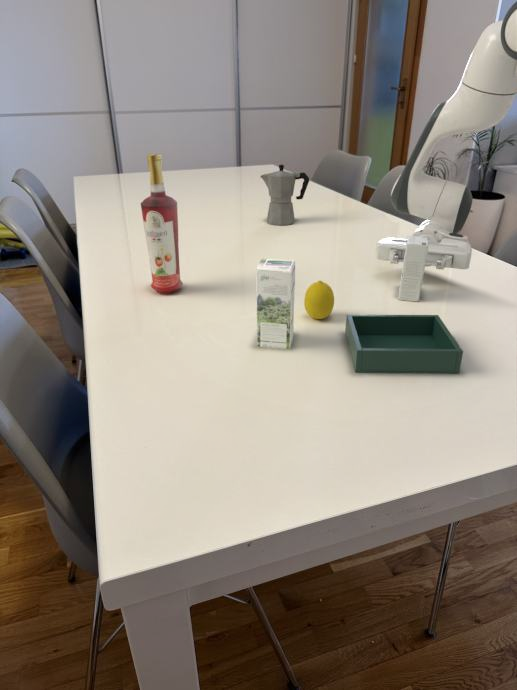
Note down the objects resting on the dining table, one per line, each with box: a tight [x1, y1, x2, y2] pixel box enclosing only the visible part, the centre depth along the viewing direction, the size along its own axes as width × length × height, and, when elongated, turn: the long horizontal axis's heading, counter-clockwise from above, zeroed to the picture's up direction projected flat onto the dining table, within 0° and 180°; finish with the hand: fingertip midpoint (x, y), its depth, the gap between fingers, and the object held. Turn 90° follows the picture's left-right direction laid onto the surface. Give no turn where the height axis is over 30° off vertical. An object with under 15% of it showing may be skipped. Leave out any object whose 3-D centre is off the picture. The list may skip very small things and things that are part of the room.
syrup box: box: [255, 258, 296, 350], centre depth 85 cm, size 6×6×14 cm
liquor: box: [140, 153, 184, 295], centre depth 106 cm, size 7×7×28 cm
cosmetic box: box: [397, 235, 429, 302], centre depth 105 cm, size 6×4×12 cm
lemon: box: [303, 280, 335, 320], centre depth 95 cm, size 6×6×8 cm
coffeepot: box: [260, 164, 310, 226], centre depth 164 cm, size 15×9×18 cm, turn 87°
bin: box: [344, 313, 464, 375], centre depth 83 cm, size 16×14×4 cm
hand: (416, 262), depth 107 cm, fingers open, 8 cm apart
